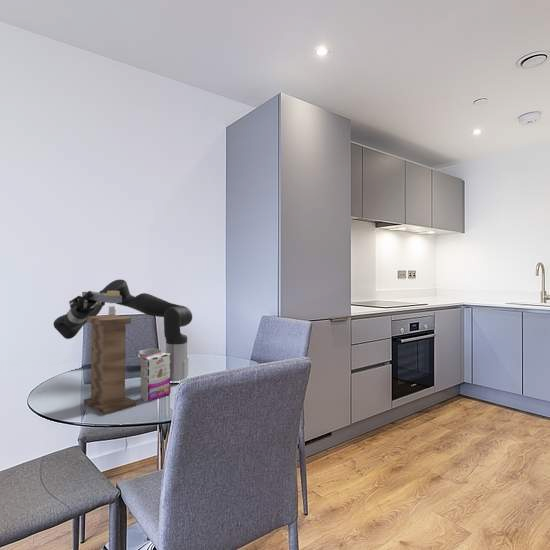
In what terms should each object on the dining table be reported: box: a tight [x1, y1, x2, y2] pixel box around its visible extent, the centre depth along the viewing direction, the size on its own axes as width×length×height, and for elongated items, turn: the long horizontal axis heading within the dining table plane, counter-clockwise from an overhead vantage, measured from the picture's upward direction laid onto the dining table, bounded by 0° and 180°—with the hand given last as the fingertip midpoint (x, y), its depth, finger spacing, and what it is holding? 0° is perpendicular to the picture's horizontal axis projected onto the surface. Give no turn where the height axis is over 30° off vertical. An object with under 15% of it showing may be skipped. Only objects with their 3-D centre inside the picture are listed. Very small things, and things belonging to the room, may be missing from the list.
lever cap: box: [81, 291, 122, 304], centre depth 145 cm, size 24×4×4 cm, turn 49°
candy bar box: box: [140, 351, 172, 402], centre depth 150 cm, size 11×5×16 cm, turn 148°
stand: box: [83, 314, 138, 416], centre depth 141 cm, size 17×12×32 cm
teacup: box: [136, 348, 162, 365], centre depth 194 cm, size 14×11×8 cm
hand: (96, 292), depth 147 cm, fingers closed on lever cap, 4 cm apart
